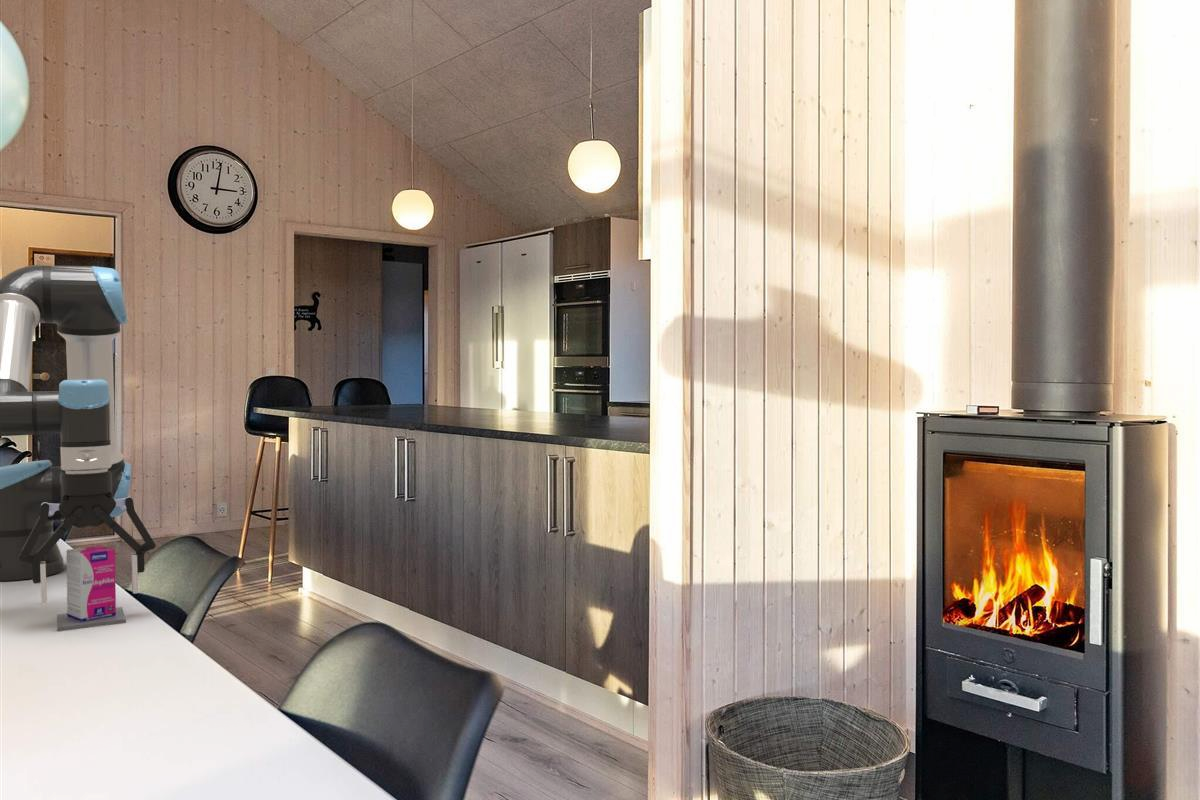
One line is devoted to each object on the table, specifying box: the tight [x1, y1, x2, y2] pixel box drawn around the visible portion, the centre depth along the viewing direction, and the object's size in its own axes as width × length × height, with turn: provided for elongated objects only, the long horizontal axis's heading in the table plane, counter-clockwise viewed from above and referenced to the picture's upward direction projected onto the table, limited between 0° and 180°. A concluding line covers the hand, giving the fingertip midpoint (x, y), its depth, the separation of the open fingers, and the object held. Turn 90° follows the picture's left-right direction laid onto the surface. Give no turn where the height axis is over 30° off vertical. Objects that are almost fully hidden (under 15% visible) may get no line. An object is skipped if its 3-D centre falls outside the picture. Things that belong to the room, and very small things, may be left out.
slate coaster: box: [56, 606, 127, 632], centre depth 165 cm, size 10×10×1 cm
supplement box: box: [66, 545, 117, 622], centre depth 165 cm, size 6×6×12 cm
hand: (90, 597), depth 165 cm, fingers open, 13 cm apart
